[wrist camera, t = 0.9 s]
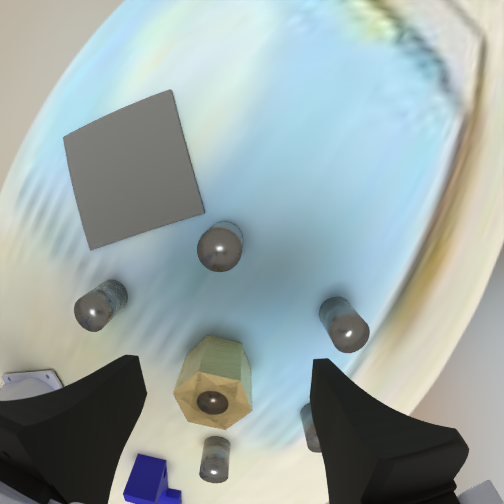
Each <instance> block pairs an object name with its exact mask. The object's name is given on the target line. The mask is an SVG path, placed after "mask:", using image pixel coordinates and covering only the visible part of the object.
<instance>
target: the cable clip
mask: <svg viewBox="0 0 504 504" xmlns="http://www.w3.org/2000/svg"><path fill="white" fill-rule="evenodd" d="M123 495H124V498H125V501H127V502H131V503H135V504H181V491H179V490H174V489H169V488H168V480H167V465H166V460H163V459H158V458H154V457H150V456H146V455H142V454H138V456H137V458H136V461H135V463H134V466H133V469H132V471H131V474H130V476H129V479H128V482H127V484H126V487H125V490H124V493H123Z"/></svg>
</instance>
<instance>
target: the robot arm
mask: <svg viewBox="0 0 504 504" xmlns="http://www.w3.org/2000/svg"><path fill="white" fill-rule="evenodd" d="M2 378H3V380H4V382H5V385H3V386H2V387H1V388H0V504H108V500H109V495H110V490H111V486H112V482H113V479H114V475H115V471H116V468H117V465H118V462H119V459H120V456H121V453H122V451H123V449H124V446H125V444H126V442H127V440H128V438H129V436H130V434H131V432H132V430H133V428H134V426H135V424H136V422H137V420H138V418H139V416H140V414H141V412H142V409H143V406H144V402H145V399H146V396H147V391H146V387H145V383H144V379H143V375H142V370H141V366H140V362H139V357H138V356H134V355H124V356H122V357H120V358H118V359H116V360H114V361H113V362H111V363H109V364H107V365H106V366H104V367H102V368H100V369H99V370H97V371H95V372H94V373H92V374H90V375H88V376H86V377H84V378H82V379H80V380H78V381H76V382H74V383H72V384H70V385H68V386H65V387H63V386H62V385H61V383H60V381H59V379H58V377H57V376H56V374H55V372H54V371H52V370H46V371H36V372H24V373H11V374H3V375H2ZM310 405H311V412H312V419H313V423H314V426H315V430H316V434H317V437H318V441H319V445H320V448H321V452H322V456H323V459H324V464H325V470H326V477H327V485H328V494H329V503H330V504H504V502H503V500H502V499H501V497H500V496H499V494H498V492H497V490H496V489H495V487H494V486H493V484H492V482H491V481H490V480H486V481H485V482H483V483H481V484H479V485H477V486H475V487H473V488H470V489H468V490H466V491H465V492H463V493H462V494H460V495H459V496H457V497H456V495H455V493H454V490H455V489H456V488H457V486H456V484H455V481H454V480H453V479H454V478H455V476H456V475H457V473H458V472H459V470H460V469H461V467H462V466H463V464H464V463H465V461H466V459H467V456H468V453H469V448H468V446H467V444H466V443H465V441H464V439H463V438H462V437H461V435H460V434H459V432H458V431H457V430H456V429H455V428H449V427H444V426H439V425H434V424H431V423H427V422H424V421H421V420H418V419H415V418H412V417H410V416H407V415H405V414H403V413H401V412H398V411H396V410H394V409H392V408H390V407H388V406H387V405H385V404H383V403H382V402H380V401H378V400H377V399H375V398H374V397H372V396H371V395H369V394H368V393H367V392H365V391H364V390H363V389H361V388H360V387H359V386H357V385H356V384H355V383H354V382H353V381H352V380H350V379H349V378H348V377H347V376H346V375H345V374H344V373H343V372H342V371H341V370H340V369H339V368H338V367H337V366H336V365H335V364H334V363H333V362H332V361H331V360H329V359H328V358H326V359H313V369H312V380H311V390H310Z"/></svg>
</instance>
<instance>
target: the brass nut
mask: <svg viewBox="0 0 504 504" xmlns="http://www.w3.org/2000/svg"><path fill="white" fill-rule="evenodd" d="M173 394H174V396H175V398H176V400H177V402H178V404H179V406H180V408H181V410H182V412H183V413H184V415H185V417H186V419H187V421H188V422H192V423H196V424H200V425H205V426H209V427H214V428H219V429H224V430H226V429H227V428H229V427H230V426H232V425H233V424H235V423H236V422H237V421H239V420H240V419H242V418H243V417H244V416H246V415H247V414H249V413H250V412H251V411H252V381H251V368H250V365H249V362H248V359H247V357H246V354H245V351H244V348H243V345H242V343H240V342H235V341H231V340H226V339H222V338H218V337H214V336H210V335H208V336H207V337H206V338H205V339H203V340H202V341H201V342H200V343H199V344H198V345H197V346H196V347H195V348H194V349H193V350H192V351H191V352H190V353H189V354H187V356H186V358H185V361H184V364H183V367H182V369H181V372H180V375H179V378H178V381H177V383H176V386H175V389H174V392H173Z"/></svg>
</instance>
